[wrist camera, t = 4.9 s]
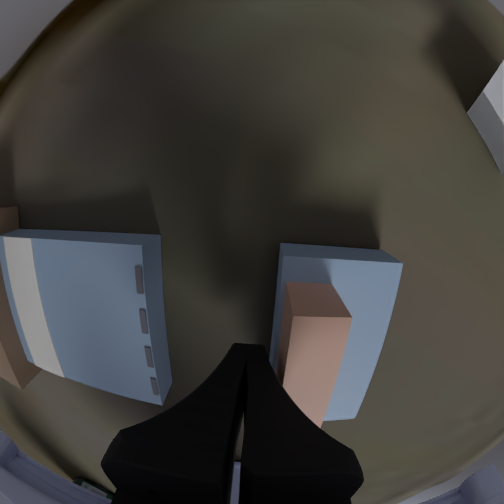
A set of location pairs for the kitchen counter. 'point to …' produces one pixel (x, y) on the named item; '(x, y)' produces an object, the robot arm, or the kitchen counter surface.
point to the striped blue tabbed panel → (83, 309)
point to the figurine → (491, 116)
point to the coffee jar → (93, 488)
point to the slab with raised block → (330, 324)
